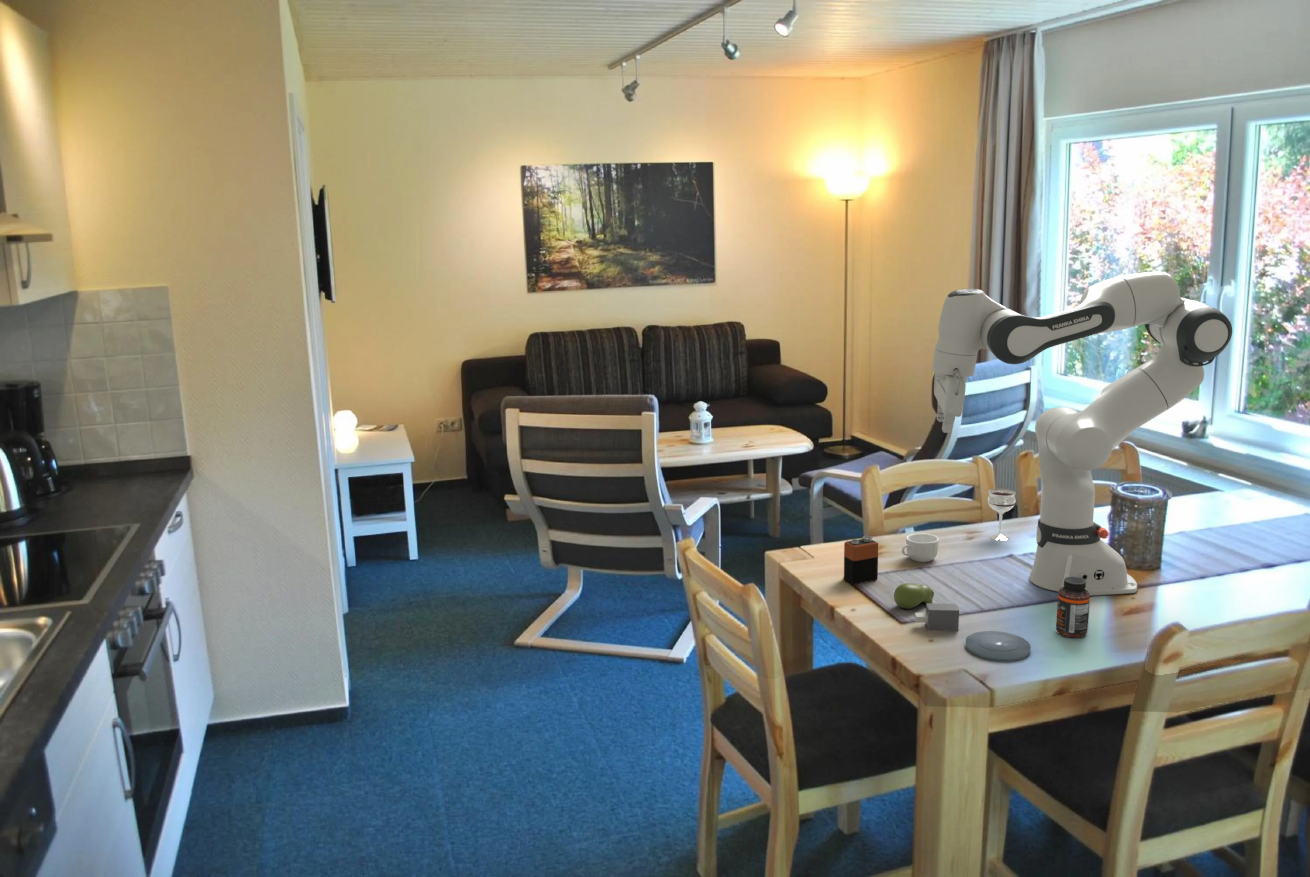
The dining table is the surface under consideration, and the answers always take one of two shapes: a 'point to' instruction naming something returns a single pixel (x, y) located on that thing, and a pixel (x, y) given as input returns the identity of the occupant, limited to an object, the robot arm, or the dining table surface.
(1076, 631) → the supplement bottle
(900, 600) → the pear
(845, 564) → the battery
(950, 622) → the block
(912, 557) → the teacup
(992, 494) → the wineglass
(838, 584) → the dining table surface
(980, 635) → the plate
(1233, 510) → the dining table surface
